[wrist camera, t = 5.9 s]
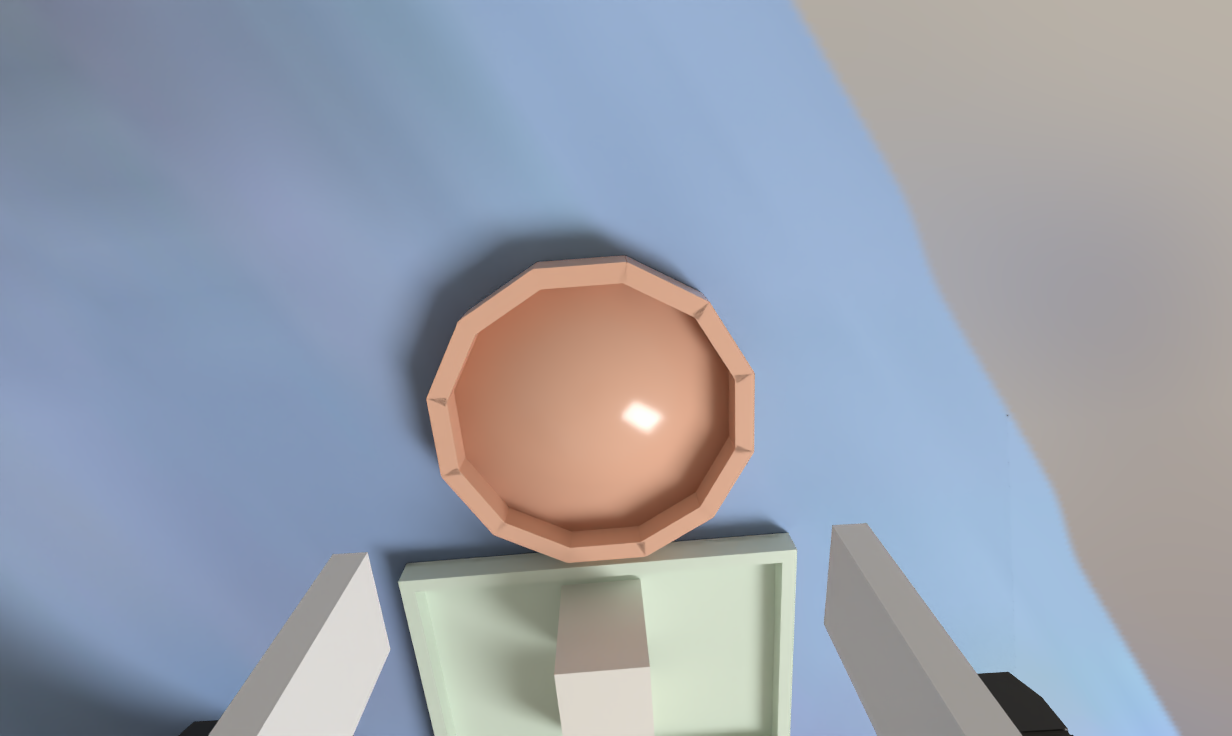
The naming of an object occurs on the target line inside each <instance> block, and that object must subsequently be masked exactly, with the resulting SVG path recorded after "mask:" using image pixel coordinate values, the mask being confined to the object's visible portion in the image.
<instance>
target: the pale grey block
mask: <svg viewBox="0 0 1232 736" xmlns="http://www.w3.org/2000/svg"><path fill="white" fill-rule="evenodd" d="M554 677H555V684H556V692H557V699H558V706H559V713H560V720H561V728H562V735H563V736H655V735H654V720H653V706H652V691H651V676H650V663H649V654H648V645H647V635H646V626H645V617H644V608H643V598H642V589H641V580H640V579H634V580H622V581H610V582H597V583H585V584H573V585H562V586H561V598H560V610H559V622H558V634H557V647H556V659H555V671H554Z"/></svg>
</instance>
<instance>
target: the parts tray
mask: <svg viewBox="0 0 1232 736" xmlns="http://www.w3.org/2000/svg"><path fill="white" fill-rule="evenodd" d="M645 556H646V555H645ZM796 563H797V549H796V547H795V545H794V543H793V541H792V539H791V537H790V535H789V533H777V534H765V535H752V536H740V537H727V538H715V539H703V540H690V541H678V542H670V543H669V544H667V545H665V546H664V547H662V548H660V549H658V550H657V551H655V552H653V553H652V554H650V555H648V556H646V557H636V558H624V559H611V560H599V561H587V562H574V563H568V562H567V563H566V562H563V561H561V560H558V559H555V558H553V557H550V556H547V555H545V554H542V553H529V554H516V555H504V556H491V557H479V558H466V559H454V560H442V561H429V562H417V563H407V564H406V566H405V568H404V570H403V573H402V575H401V577H400V579H399V581H398V583H399V588H400V592H401V596H402V600H403V605H404V609H405V613H406V617H407V621H408V626H409V630H410V634H411V638H412V642H413V647H414V651H415V655H416V659H417V663H418V668H419V672H420V676H421V680H422V685H423V689H424V693H425V697H426V701H427V706H428V710H429V714H430V718H431V722H432V727H433V731H434V735H435V736H563V735H562V728H561V720H560V713H559V706H558V699H557V692H556V684H555V677H554V671H555V659H556V647H557V634H558V622H559V610H560V598H561V586H562V585H573V584H585V583H597V582H610V581H622V580H634V579H640V580H641V589H642V598H643V608H644V617H645V626H646V635H647V645H648V654H649V663H650V676H651V691H652V706H653V720H654V735H655V736H790V721H791V695H792V668H793V642H794V615H795V589H796Z"/></svg>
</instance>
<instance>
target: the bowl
mask: <svg viewBox="0 0 1232 736" xmlns="http://www.w3.org/2000/svg"><path fill="white" fill-rule="evenodd" d="M754 391H755V373H754V371H753V370H752V368H751V367H750V365H749V364H748V362H747V360H746V359H745V357H744V356H743V354H742V352H741V351H740V349H739V348H738V346H737V345H736V343H735V341H734V340H733V338H732V337H731V335H730V334H729V332H728V330H727V329H726V327H725V326H724V324H723V323H722V321H721V319H720V318H719V316H718V315H717V313H716V311H715V310H714V308H713V307H712V305H711V304H710V302H709V301H708V300H707V299H706V297H705V296H704V295H703V294H702V293H701V292H699V291H697V290H695V289H693V288H691V287H689V286H687V285H685V284H683V283H681V282H679V281H677V280H675V279H673V278H671V277H669V276H666V275H664V274H662V273H660V272H658V271H656V270H654V269H652V268H650V267H648V266H646V265H644V264H642V263H640V262H638V261H636V260H634V259H632V258H630V257H627V256H624V255H620V256H607V257H594V258H581V259H568V260H555V261H542V262H536V263H535V264H533V265H532V266H530V267H529V268H528V269H526V270H525V271H523V272H522V273H520V274H519V275H518V276H516V277H515V278H513V279H512V280H511V281H509V282H508V283H506V284H505V285H503V286H502V287H501V288H499V289H498V290H496V291H495V292H493V293H492V294H491V295H489V296H488V297H486V298H485V299H484V300H482V301H481V302H479V303H478V304H476V305H475V306H474V307H472V308H471V309H469V310H468V311H467V312H466V313H465V314H464V315H463V317H462V318H461V319H460V320H459V321H458V323H457V325H456V328H455V330H454V332H453V335H452V337H451V340H450V342H449V345H448V347H447V350H446V352H445V354H444V357H443V359H442V362H441V364H440V367H439V369H438V371H437V374H436V376H435V379H434V381H433V384H432V386H431V388H430V391H429V393H428V396H427V398H426V400H427V406H428V411H429V416H430V421H431V426H432V431H433V437H434V442H435V447H436V452H437V457H438V462H439V468H440V473H441V476H442V478H443V479H444V480H445V481H446V483H447V484H448V485H449V486H450V487H451V488H452V489H453V490H454V492H455V493H456V494H457V495H458V496H459V497H460V498H461V499H462V500H463V502H464V503H465V504H466V505H467V506H468V507H469V508H470V509H471V510H472V512H473V513H474V514H475V515H476V516H477V517H478V518H479V519H480V521H481V522H482V523H483V524H484V525H485V526H486V527H487V528H488V529H489V531H490V532H491V533H492V534H493V535H495V536H497V537H500V538H503V539H505V540H508V541H510V542H513V543H516V544H518V545H521V546H524V547H526V548H529V549H532V550H534V551H537V552H539V553H542V554H545V555H547V556H550V557H553V558H555V559H558V560H561V561H563V562H566V563H567V562H568V563H574V562H587V561H599V560H611V559H624V558H636V557H646V556H648V555H650V554H652V553H653V552H655V551H657V550H658V549H660V548H662V547H664V546H665V545H667V544H669V543H670V542H672V541H674V540H676V539H677V538H679V537H681V536H682V535H684V534H686V533H688V532H689V531H691V530H693V529H694V528H696V527H698V526H700V525H701V524H703V523H705V522H707V521H708V520H710V519H712V518H713V517H714V516H715V514H716V512H717V511H718V509H719V508H720V506H721V504H722V503H723V501H724V500H725V498H726V496H727V495H728V493H729V491H730V490H731V488H732V487H733V485H734V483H735V482H736V480H737V479H738V477H739V475H740V474H741V472H742V470H743V469H744V467H745V466H746V464H747V462H748V461H749V459H750V458H751V456H752V454H753V453H754ZM645 555H646V556H645Z"/></svg>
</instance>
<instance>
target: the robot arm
mask: <svg viewBox="0 0 1232 736" xmlns="http://www.w3.org/2000/svg"><path fill="white" fill-rule="evenodd" d="M824 625H825V627H826V629H827V632H828V634H829V636H830V638H831V640H832V642H833V644H834V646H835V648H836V650H837V652H838V654H839V657H840V659H841V661H842V663H843V665H844V667H845V669H846V671H847V673H848V675H849V677H850V679H851V682H852V684H853V686H854V688H855V690H856V692H857V694H858V696H859V698H860V700H861V702H862V704H863V707H864V709H865V711H866V713H867V715H868V717H869V719H870V721H871V723H872V725H873V727H874V729H875V732H876V734H877V736H1073V735H1070V734H1069V733H1068V728H1067V727H1066V726H1065V725H1064V724H1063V722H1062V721H1061V720H1060V719H1059V718H1058V716H1057V715H1056V714H1055V713H1054V711H1053V710H1052V709H1051V708H1050V707H1049V705H1048V704H1047V703H1046V702H1045V700H1044V699H1043V698H1042V697H1041V696H1039V695H1038V694H1037V693H1035V692H1034V691H1033V690H1032V689H1030V688H1029V687H1028V686H1026V685H1025V684H1024V683H1022V682H1021V681H1020V680H1018V679H1017V678H1016V677H1014V676H1013V675H1012V674H1010V673H1009V672H999V673H982V674H977V673H976V672H975V670H974V669H973V668H972V666H971V665H970V664H969V662H968V661H967V659H966V658H965V657H964V655H963V654H962V653H961V651H960V650H959V649H958V647H957V646H956V644H955V643H954V642H953V640H952V639H951V638H950V636H949V635H948V634H947V632H946V631H945V629H944V628H943V627H942V625H941V624H940V623H939V621H938V620H937V618H936V617H935V616H934V614H933V613H932V612H931V610H930V609H929V608H928V606H927V605H926V603H925V602H924V601H923V599H922V598H921V597H920V595H919V594H918V593H917V591H916V590H915V588H914V587H913V586H912V584H911V583H910V582H909V580H908V579H907V578H906V576H905V575H904V573H903V572H902V571H901V569H900V568H899V567H898V565H897V564H896V563H895V561H894V560H893V558H892V557H891V556H890V554H889V553H888V552H887V550H886V549H885V548H884V546H883V545H882V543H881V542H880V541H879V539H878V538H877V537H876V535H875V534H874V532H873V531H872V530H871V528H870V527H869V526H868V524H867V523H864V524H847V525H832V535H831V547H830V558H829V570H828V582H827V593H826V605H825V617H824ZM389 651H390V646H389V641H388V637H387V633H386V629H385V624H384V620H383V616H382V612H381V607H380V603H379V599H378V595H377V590H376V586H375V582H374V578H373V574H372V569H371V565H370V561H369V557H368V552H365V553H348V554H333V555H332V556H331V558H330V559H329V561H328V562H327V564H326V565H325V566H324V568H323V569H322V571H321V572H320V574H319V575H318V577H317V578H316V580H315V581H314V582H313V584H312V585H311V587H310V588H309V590H308V591H307V593H306V594H305V596H304V597H303V598H302V600H301V601H300V603H299V604H298V606H297V607H296V609H295V610H294V612H293V613H292V614H291V616H290V617H289V619H288V620H287V622H286V623H285V625H284V626H283V628H282V629H281V631H280V632H279V633H278V635H277V636H276V638H275V639H274V641H273V642H272V644H271V645H270V647H269V648H268V649H267V651H266V652H265V654H264V655H263V657H262V658H261V660H260V661H259V663H258V664H257V665H256V667H255V668H254V670H253V671H252V673H251V674H250V676H249V677H248V679H247V680H246V681H245V683H244V684H243V686H242V687H241V689H240V690H239V692H238V693H237V695H236V696H235V697H234V699H233V700H232V702H231V703H230V705H229V706H228V708H227V709H226V711H225V712H224V713H223V715H222V716H221V718H220V719H219V720H216V721H200V722H193V723H192V724H191V725H190V726H189V727H188V728H187V729H185V730H184V731H183V732H182V733H181V734H180V735H179V736H353V734H354V732H355V730H356V727H357V725H358V723H359V720H360V718H361V716H362V713H363V711H364V709H365V707H366V704H367V702H368V700H369V697H370V695H371V693H372V691H373V688H374V686H375V684H376V681H377V679H378V677H379V674H380V672H381V670H382V668H383V665H384V663H385V661H386V658H387V656H388V654H389Z"/></svg>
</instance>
